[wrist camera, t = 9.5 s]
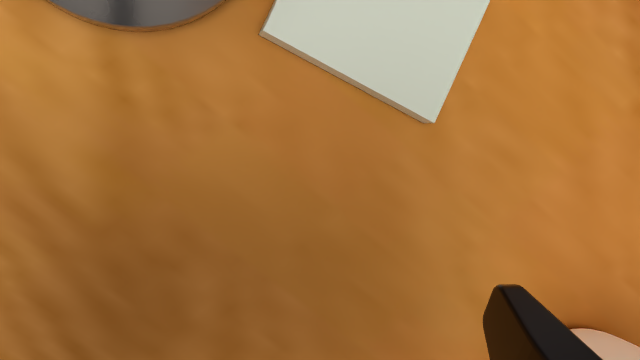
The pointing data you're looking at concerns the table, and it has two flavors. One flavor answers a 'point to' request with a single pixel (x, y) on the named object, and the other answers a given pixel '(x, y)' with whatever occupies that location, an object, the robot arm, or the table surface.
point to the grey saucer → (137, 12)
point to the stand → (382, 44)
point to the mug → (608, 345)
